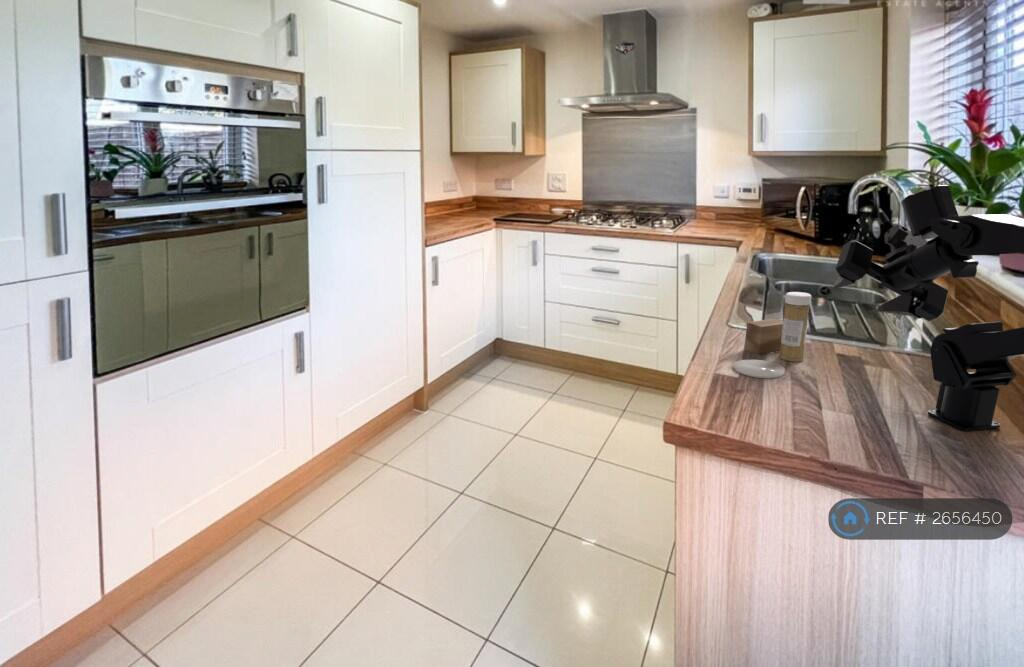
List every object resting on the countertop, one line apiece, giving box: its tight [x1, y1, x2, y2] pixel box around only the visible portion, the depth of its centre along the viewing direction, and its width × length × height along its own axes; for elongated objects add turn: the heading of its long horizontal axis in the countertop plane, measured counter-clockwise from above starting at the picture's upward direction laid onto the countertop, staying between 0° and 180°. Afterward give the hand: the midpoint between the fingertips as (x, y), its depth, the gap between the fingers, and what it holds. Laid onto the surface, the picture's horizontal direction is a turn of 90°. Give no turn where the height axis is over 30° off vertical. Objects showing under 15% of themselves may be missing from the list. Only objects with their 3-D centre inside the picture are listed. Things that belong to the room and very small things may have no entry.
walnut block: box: [744, 318, 784, 355], centre depth 123 cm, size 4×8×6 cm, turn 112°
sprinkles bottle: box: [778, 291, 812, 363], centre depth 116 cm, size 5×5×14 cm
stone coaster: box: [733, 359, 786, 379], centre depth 111 cm, size 9×9×1 cm
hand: (856, 297), depth 107 cm, fingers open, 9 cm apart
